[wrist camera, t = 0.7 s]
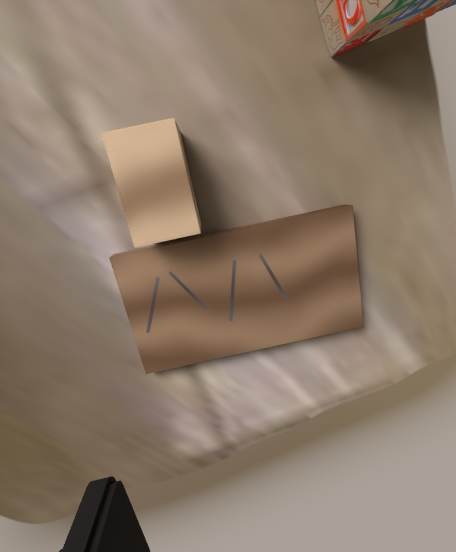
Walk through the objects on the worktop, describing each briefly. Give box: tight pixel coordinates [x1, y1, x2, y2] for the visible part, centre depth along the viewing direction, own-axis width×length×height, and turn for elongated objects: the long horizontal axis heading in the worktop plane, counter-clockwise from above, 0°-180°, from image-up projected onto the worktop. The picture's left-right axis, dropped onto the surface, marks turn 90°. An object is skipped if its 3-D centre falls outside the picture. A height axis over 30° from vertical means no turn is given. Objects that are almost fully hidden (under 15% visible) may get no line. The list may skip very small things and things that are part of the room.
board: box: [110, 205, 364, 374], centre depth 31 cm, size 12×22×2 cm, turn 102°
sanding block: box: [102, 118, 201, 247], centre depth 26 cm, size 8×5×6 cm, turn 12°
